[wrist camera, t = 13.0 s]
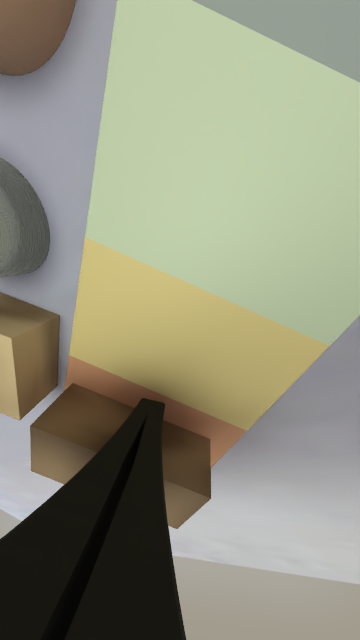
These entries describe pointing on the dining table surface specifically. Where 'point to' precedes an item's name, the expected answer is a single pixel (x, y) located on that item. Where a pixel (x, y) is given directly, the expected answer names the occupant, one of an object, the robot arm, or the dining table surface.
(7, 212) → the tin
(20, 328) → the oak block
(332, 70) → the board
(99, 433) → the brown rectangular block
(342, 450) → the dining table surface
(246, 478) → the dining table surface
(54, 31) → the peach smooth rounded cylinder
